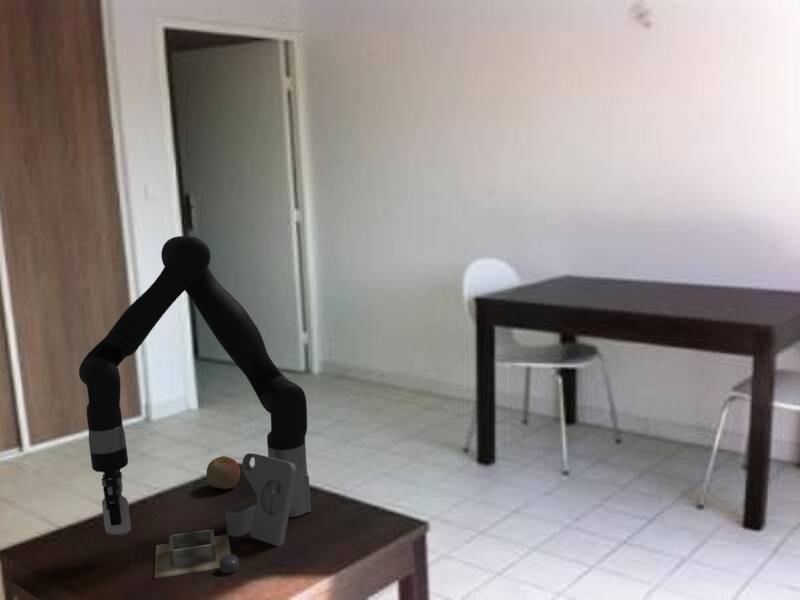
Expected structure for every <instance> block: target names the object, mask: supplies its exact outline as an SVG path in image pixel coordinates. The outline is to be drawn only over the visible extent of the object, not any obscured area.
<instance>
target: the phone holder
mask: <svg viewBox="0 0 800 600" xmlns="http://www.w3.org/2000/svg"><path fill="white" fill-rule="evenodd" d="M252 458H253V459H254V464H253V468H252V467H251V464H250V463H251V460H252ZM241 462H242V463H241V471H242V472H243V474H244V476H245V478H246V479H247V481H248V482H249V485H251V487H252V489H253V490H254V491H255V493H256V496H257V497H256V498H249V499H245V500H244V501H241V502H240V503H237V504H234V505H233V506H230V507H228V508H227V509H226V510H225V519H226V520H225V521H226V533H227V534H226V535H228V537H233V538H236V537H237V538H238V537H241V536H244V535H246V534H249V533H250V537H249V538H252V539H255V540H258V541H261V542H263V543H265V544H270V545H274V546H277V547H280V546H283V545H284V543H285V539H286V534H287V533H286V532H287V527H288V521H289V518H290V517H289V512H290V506H291V501H292V495H293V490H294V484H295V479H296V473H297V470H296V466H295V465H294V464H293V463H291V462H287V461H283V460H279V459H275V458H271V457H268V456H266V455H261V454H257V453H246V454H245V455H244V457H243V458H242V461H241ZM277 482H279V483H280V484H281V488H282V489H281V492H280V494H279V495H276V494H275V493H274V485H275V484H276V483H277Z"/></svg>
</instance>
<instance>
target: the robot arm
mask: <svg viewBox="0 0 800 600" xmlns="http://www.w3.org/2000/svg"><path fill="white" fill-rule="evenodd" d="M160 254H161V255H160V256H161V262H162V264H163V268H162V270H161V272H160V273H159V275H158V277H157V278H156V279H155V281H154V282H153V283H152V284H151V285H150V286H149V287H148V289H146V291H144V292H143V293H142V294H141V295H140V296H139V297H138V298H137V299H136V300H135V301H133V302H132V304H130V305H129V306H128V307H127V308H126V310H125V311H124V312H123V313H122V315H120V317H119V319H117V321H116V322H115V324H114V325H113V326H112V327H111V329H110V331H109V332H108V333H107V335H106V336H104V338H103V339H102V340H100V341H99V342H98V343H97V344H96V346H94V347H93V348H91V350H90V351H89V352H88V353H87V355H86V356H85V357H84V359H83V360H82V362H81V363H80V365H79V369H78V375H79V378H80V380H81V382H82V383H84V384H85V385H86V387H87V395H88V396H87V397H88V403H87V405H86V420H87V427H88V443H89V454H90V463H91V468H92V470H93V471H95V472H98V473H103V474H102V478H101V485H102V487H103V489H102V491H103V494H104V495H103V496H104V498H105V500H106V509H107V510H109V514H110V522H111V525H112V526H114V525H120V524H121V513H120V506H121V505H120V500H119V497H121V495H122V496H123V494H122V493H123V480H122V479H123V473H122V471H121V469H123V468H125V467H127V465H128V464H129V457H128V449H127V448H128V447H127V441H126V433H125V430H124V425H123V424H124V423H123V419H122V418H123V417H122V409H121V405H120V403H121V402H120V401H121V373H120V371H119V368H118V366H120V364H121V363H122V362H124V360H125V359H126V358H127V357H130V356H132V355H134V354H135V353H136V352H137V350H138V349H140V347H141V345H142V344H143V343H144V341H145V340H146V339H147V337H148V336H149V335H150V333H151V332H152V331H153V329H154V328H155V326H156V325H157V323H158V322H159V321H160V320H161V318H162V317H163V316H164V314H166V312H167V311H168V310H169V308H171V306H172V305H173V303H175V302H176V301H177V299H178V298H179V297H180V296H181V295H182V294H183V293H184V292H185V293H186V294H187V295H188V296H189V298H190V299H191V300H192V302H193V303H194V305H195V307H196V308H197V310H198V312H199V313H200V315H201V317H202V318H203V320H204V322H205V324H206V325H207V327H208V328H209V329H210V330H211V332H212V334H213V335H214V337H215V338H216V340H217V341H218V343H219V344H220V345H221V347H222V348H223V350H224V351H225V352H226V354H227V355H228V356H229V358H231V360H232V361H233V362H234V363H235V365H236V366H237V367H238V368H239V369H240V371H241V372H242V373H243V374H244V375H245V377H246V378H247V380H248V382H249V384H250V386H251V387H252V389H253V391H254V393H255V395H256V396H257V398H258V400H259V402H260V404H261V406H262V407H263V408H264V410H265V411H266V412H268V413H269V414H270V428H271V429H270V432H269V433H268V434H267V436H266V442H267V444H266V445H267V457H271V458H275V459H279V460H283V461H287V462H291V463H293V464H294V465H295V466H296V470H297V473H296V479H295V484H294V490H293V495H292V501H291V506H290V512H289V517H288V518H294V517H295V518H296V517H300V516H303V515H305V514H308V513H312V506H311V489H310V476H309V474H308V464H307V452H306V451H307V450H306V447H307V446H306V434H307V431H308V410H307V407H308V406H307V399H306V398H307V397H306V394H305V392H304V390H303V388H302V387H301V386H300V385H298V384H297V383H295V382H293V381H291V380H289V379H288V378H287V377H286V376H285V375H284V374H283V373H282V372H281V371H280V370H279V369H278V367H277V366H276V364H275V363H274V362H273V360H272V358H271V357H270V355H269V353H268V351H267V348H266V345H265V342H264V339H263V336H262V334H261V332H260V330H259V328H258V326H257V325H256V324H255V322H254V320H253V319H252V318H251V316H250V315H249V313H248V311H246V308H244V307H243V306H242V304H240V302H239V301H238V300H237V299H236V298H235V297H234V296H233V295H232V294H231V293H230V292H228V291H227V290H226V289H225V287H223V286H222V284H220V283H219V281H218V280H217V279H216V278H215V276H214V275H213V273H212V272H211V269H210V268H209V264H210V263H211V251H210V248H209V246H208V244H207V243H206V242H205V241H203V240H202V239H200V238H197V237H195V236H186V235H185V236H184V235H179V236H174V237H171V238H170V239H168V240H166V242H165V243H164V244H163V246H162V248H161V253H160ZM281 489H282V488H281V484H280V483H279V482H277V483H276V484H275V485H274V493H275V494H276V495H279V494H280V492H281ZM117 492H118V493H117ZM111 501H115V502H116V503H114V504H110V502H111Z"/></svg>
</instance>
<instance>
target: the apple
mask: <svg viewBox="0 0 800 600" xmlns="http://www.w3.org/2000/svg"><path fill="white" fill-rule="evenodd" d="M240 469H241V468H240V465H239V463H238V461H236V459H234V458H231V456H227V455H226V456H223V455H222V456H219V457H216V458H214V459H212V460H211V461H210V462H209V464H208V465H207V467H206V479H207V481H208V484H209V485H210V486H211V487H214V488H217V489H223V490H224V489H225V490H226V489H232V488H234V487H235V486H236V485H237V484H238V482H239V480H240V475H241V470H240Z"/></svg>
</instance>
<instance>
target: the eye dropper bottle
mask: <svg viewBox="0 0 800 600" xmlns="http://www.w3.org/2000/svg"><path fill="white" fill-rule="evenodd" d="M117 493H118V492H117ZM119 500H120V505H121V506H120V513H121V524H120V525H114V526H112V525H111V522H110V514H109V510H107V509H106V500H105V497H104V498H103V499H102V501H101V509H102V515H103V517H102V518H103V523H104V529H105V530H104V531H105V533H106V534H109V535H112V536H113V535H115V536H121V535H126V534H128V533H130V531H131V530H132V525H131V517H130V508H129V503H128V502H129V501H128V498H126V496H123V494H122V495H121V497H119ZM114 503H116V502H115V501H111V502H110V504H114Z"/></svg>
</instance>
